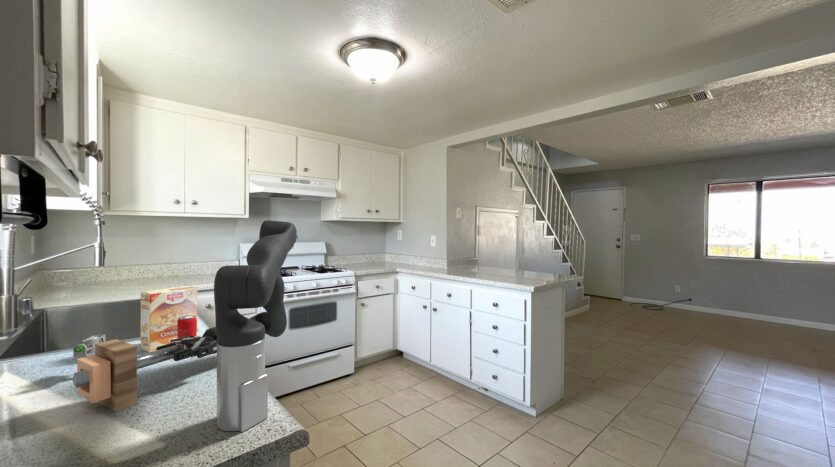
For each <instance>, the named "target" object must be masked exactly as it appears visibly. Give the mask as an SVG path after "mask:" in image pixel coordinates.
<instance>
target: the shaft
mask: <svg viewBox="0 0 835 467" xmlns="http://www.w3.org/2000/svg"><path fill="white" fill-rule="evenodd" d="M182 350H185V349H184V346H183V345H182V344H177V345H174V346H171V347H167V348H163V349H160V350H156V351H152V352H146V353H141V354H139V355H137V370H140V369H143V368H146V367H149V366H152V365H153V366H154V365H157V364H159V363H163V362H166V361H169V360H174V353H175V352H178V351H182ZM72 383H73V386H74V388H76V389H77V387H81V386H84V385H87V384H90V373H89V372H87V371H85V370H83V371H79V372H77V371H75V372H74V373H73V374H72Z"/></svg>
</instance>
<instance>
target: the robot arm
mask: <svg viewBox="0 0 835 467" xmlns="http://www.w3.org/2000/svg"><path fill="white" fill-rule="evenodd" d="M297 231H298V230H297V228H296V226H295V224H294V223H292V222H290V221H280V220H279V221H278V220H268V219H266V220H263V221H262V223H261V226H260V228H259V236H258V240H256V241H255V242H254V244H253V245H251V247H250V248H249V250H248V252H247V254H246V263H247V264H244V265H243V264H242V265H241V264H237V265H234V264H233V265H223V266H221V267H219V269H217V271H216V273H215V276H214V281H213V300H214V313H215V314H214V316H215V326H214V327H209V328H207V329H206V330H205V331H204V333H203V335H202V336H200V335H197V336H195V337H194V335H190V336H186V337H182V338H178V339H173V340H170V344H166V345H162V346H158V347H157V348H156V350H160V349H163V348H167V347H171V346H174V345H177V344H182V345H183V346H184V349H185V350H182V351H178V352H175V353H174V358H173V361H174V362H179V361H182V360H185V359H189V358H197V359H201V358H204V357H207V356H210V355H215V354H216V426H217V428H218V429H219V430H221V431H225V432H236V431H237V432H241V433H243V432H245V431H247V430H248V429H250V428H252V427H253V426H255V425H257V424H259V423H261V422H263V421H264V420H266V419H268V417H269V415H268V411H269V410H268V409H269V408H268V407H269V406H268V399H269V398H268V395H269V392H268V391H269V387H268V386H269V384H268V382H269V377H268V376H269V375H268V374H266V335H267V336H269V337H271V338H278V337H281V336H282V335H283V334H284V332H286V329H287V324H288V319H287V313H286V308H285V304H284V297H285V282H284V279H283V277H282V275H281V272H280V270H281V268H282V267H283V265H284V263H285V261H286V258H287V256H288V254H289V252H290V251H291V250H292V249H293V248H294V246H295V243H296V241H297V238H298V237H297V236H298V234H297V233H298V232H297ZM259 308H263V309H264V310H265V311H262V312H259V313H257V314H255V315H254V316H251V317H250V318H248V317H246V316H244V315H243V314H242V313H241V312H239V309H240V310H241V309H242V310H244V309H259ZM185 346H187V348H185Z"/></svg>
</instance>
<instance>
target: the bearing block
mask: <svg viewBox="0 0 835 467" xmlns="http://www.w3.org/2000/svg"><path fill="white" fill-rule="evenodd" d="M137 352H138V346H137V345H135V344H132V343H129V342H126V341H124V340H120V339H118V338H117V339H116V338H115V339H111V340H105V342H101V343H97V344H95V355H96V356H98V357H101V358H103V359H106V360H108V361H110V363H111V397H110V398H107V399H104V400H101V401H98V402H97V403H99V404H101V406H104V407H106V408H107V409H109V410H112V411H113V412H115V413H117V412H119V411H122V410H125V409H127V408H130V407H133V406H135V405H138V369H137V356H138V355H137V354H138V353H137Z"/></svg>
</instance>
